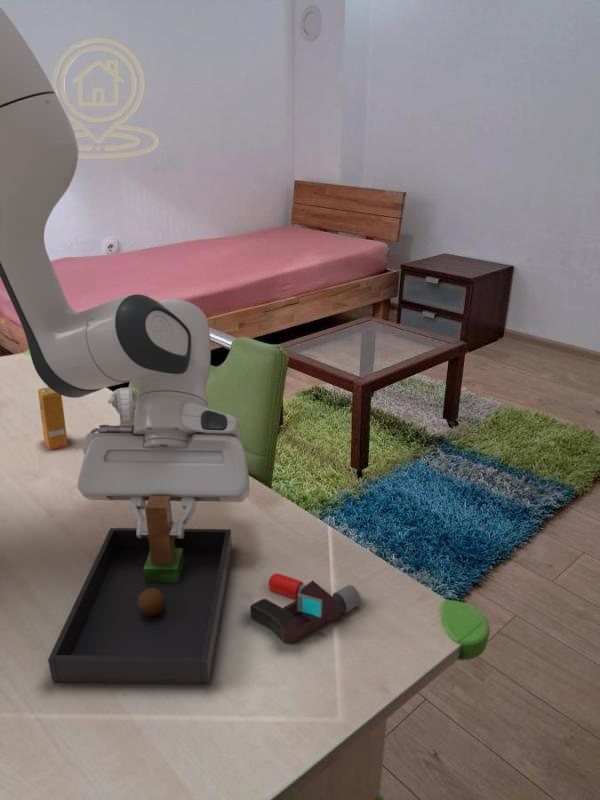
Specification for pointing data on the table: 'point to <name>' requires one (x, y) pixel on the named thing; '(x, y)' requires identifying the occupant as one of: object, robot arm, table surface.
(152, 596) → the brown wooden ball
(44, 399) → the supplement box
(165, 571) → the wooden post on base
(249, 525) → the table surface
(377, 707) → the table surface
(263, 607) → the toy gun
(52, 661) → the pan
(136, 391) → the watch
